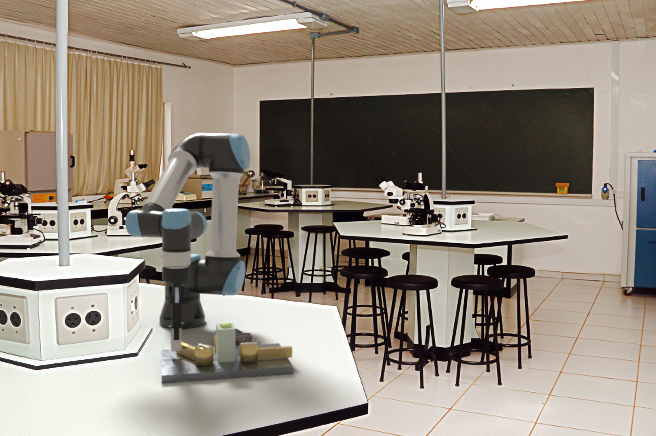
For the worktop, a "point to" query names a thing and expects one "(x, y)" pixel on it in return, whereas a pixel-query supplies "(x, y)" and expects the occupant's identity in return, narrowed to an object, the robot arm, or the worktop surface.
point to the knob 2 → (262, 352)
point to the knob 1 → (198, 353)
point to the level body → (225, 342)
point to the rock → (241, 337)
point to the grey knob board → (220, 367)
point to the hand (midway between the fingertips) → (176, 350)
